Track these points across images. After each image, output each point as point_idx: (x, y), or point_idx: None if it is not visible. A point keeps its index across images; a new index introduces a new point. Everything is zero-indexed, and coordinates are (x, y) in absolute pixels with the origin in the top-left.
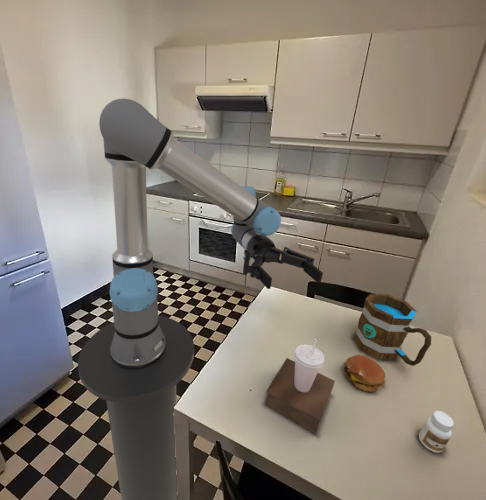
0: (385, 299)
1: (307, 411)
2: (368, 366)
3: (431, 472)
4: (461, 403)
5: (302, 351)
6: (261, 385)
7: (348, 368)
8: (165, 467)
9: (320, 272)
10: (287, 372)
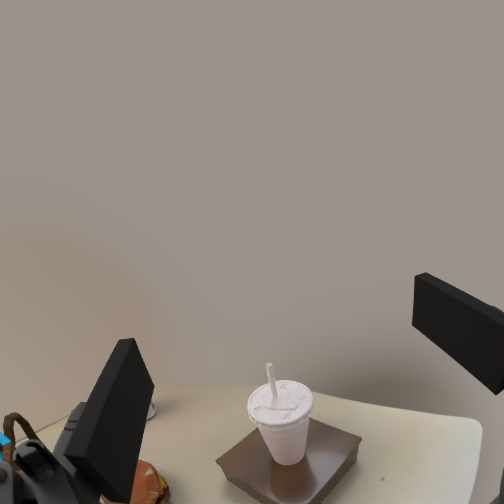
0: None
1: None
2: None
3: (175, 395)
4: (62, 429)
5: (294, 402)
6: (360, 492)
7: (158, 493)
8: None
9: (128, 341)
10: (310, 478)
